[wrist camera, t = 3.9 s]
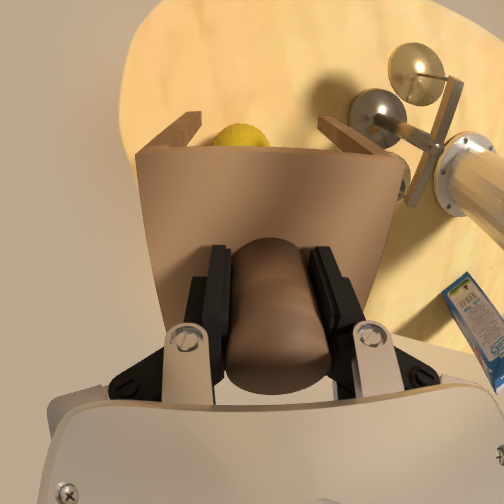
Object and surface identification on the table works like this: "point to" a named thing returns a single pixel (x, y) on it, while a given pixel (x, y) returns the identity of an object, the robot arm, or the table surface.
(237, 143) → the lemon
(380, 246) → the wooden stool
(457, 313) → the milk carton
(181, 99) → the table surface
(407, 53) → the balance
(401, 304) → the table surface
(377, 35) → the table surface
